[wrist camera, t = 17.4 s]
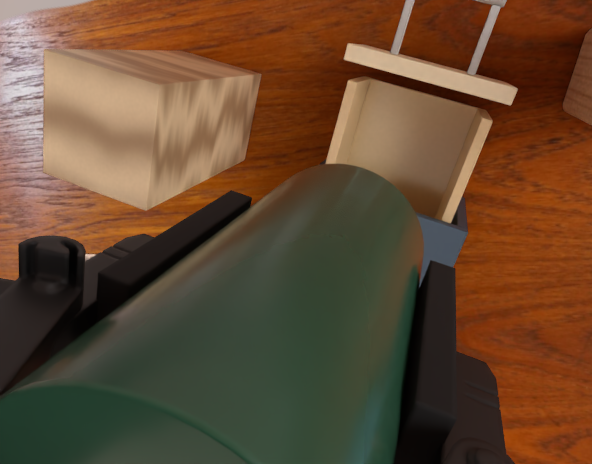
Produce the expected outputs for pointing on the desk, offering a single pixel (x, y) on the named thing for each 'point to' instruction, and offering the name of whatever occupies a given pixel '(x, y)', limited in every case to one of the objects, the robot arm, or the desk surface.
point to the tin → (246, 343)
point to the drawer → (417, 122)
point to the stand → (143, 120)
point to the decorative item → (581, 84)
